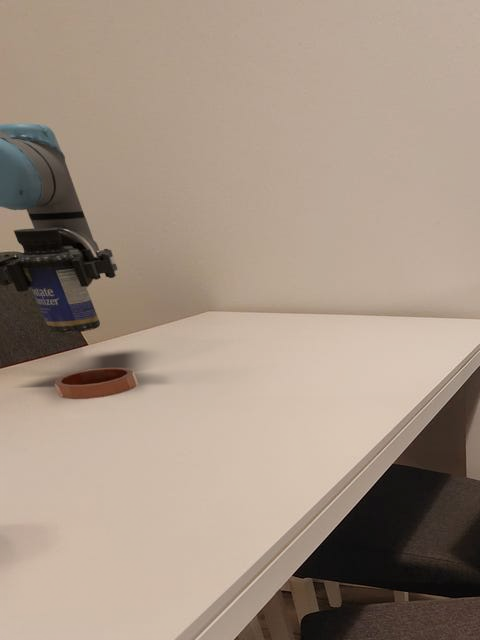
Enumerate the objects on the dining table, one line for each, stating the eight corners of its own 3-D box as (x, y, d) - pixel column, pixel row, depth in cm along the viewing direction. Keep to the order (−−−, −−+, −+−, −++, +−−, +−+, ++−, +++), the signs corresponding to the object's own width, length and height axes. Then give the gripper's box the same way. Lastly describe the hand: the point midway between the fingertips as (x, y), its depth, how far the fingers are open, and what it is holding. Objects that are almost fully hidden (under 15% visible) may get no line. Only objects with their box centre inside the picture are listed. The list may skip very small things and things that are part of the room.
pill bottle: (39, 332, 77) (-6, 231, 70) (79, 323, 81) (40, 227, 75) (72, 335, 75) (29, 230, 68) (112, 325, 80) (74, 227, 73)
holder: (51, 414, 80) (39, 387, 78) (89, 393, 88) (79, 368, 86) (122, 412, 80) (111, 385, 78) (154, 391, 88) (145, 366, 85)
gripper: (145, 282, 92) (145, 303, 76) (5, 294, 87) (-28, 319, 70) (126, 224, 88) (122, 233, 71) (-24, 232, 82) (-66, 243, 65)
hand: (48, 276), depth 71 cm, fingers closed on pill bottle, 6 cm apart
